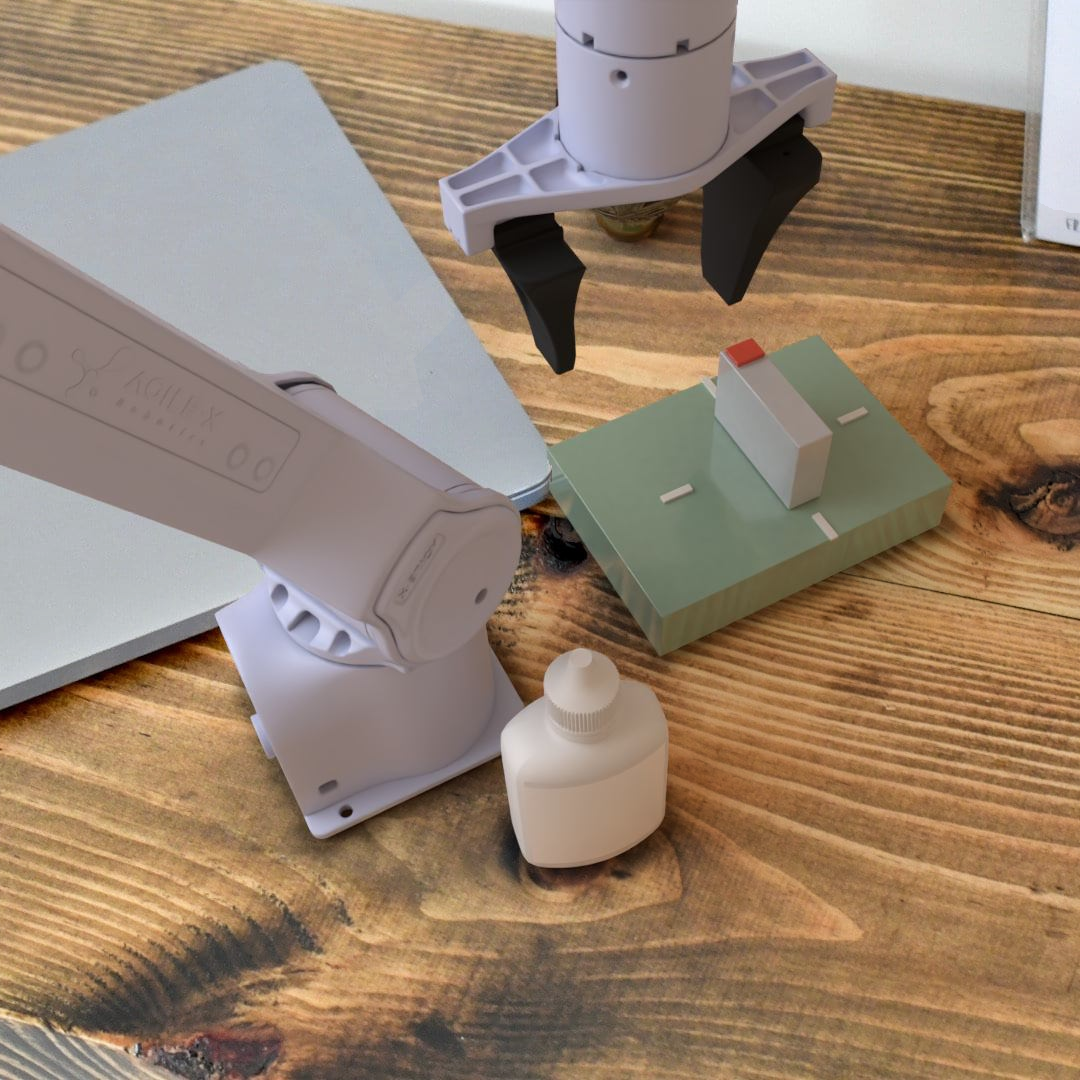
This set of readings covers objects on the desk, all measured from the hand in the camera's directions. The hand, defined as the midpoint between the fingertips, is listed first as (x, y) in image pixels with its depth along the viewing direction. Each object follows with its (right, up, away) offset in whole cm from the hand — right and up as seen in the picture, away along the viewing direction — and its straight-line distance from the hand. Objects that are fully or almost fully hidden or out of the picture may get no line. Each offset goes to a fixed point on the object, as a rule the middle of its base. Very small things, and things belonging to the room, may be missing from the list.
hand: (639, 322), depth 52 cm
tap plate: (+5, -7, +6) cm, 11 cm away
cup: (+1, +8, +18) cm, 20 cm away
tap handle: (+6, -5, +4) cm, 9 cm away
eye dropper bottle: (-2, -19, -2) cm, 20 cm away
